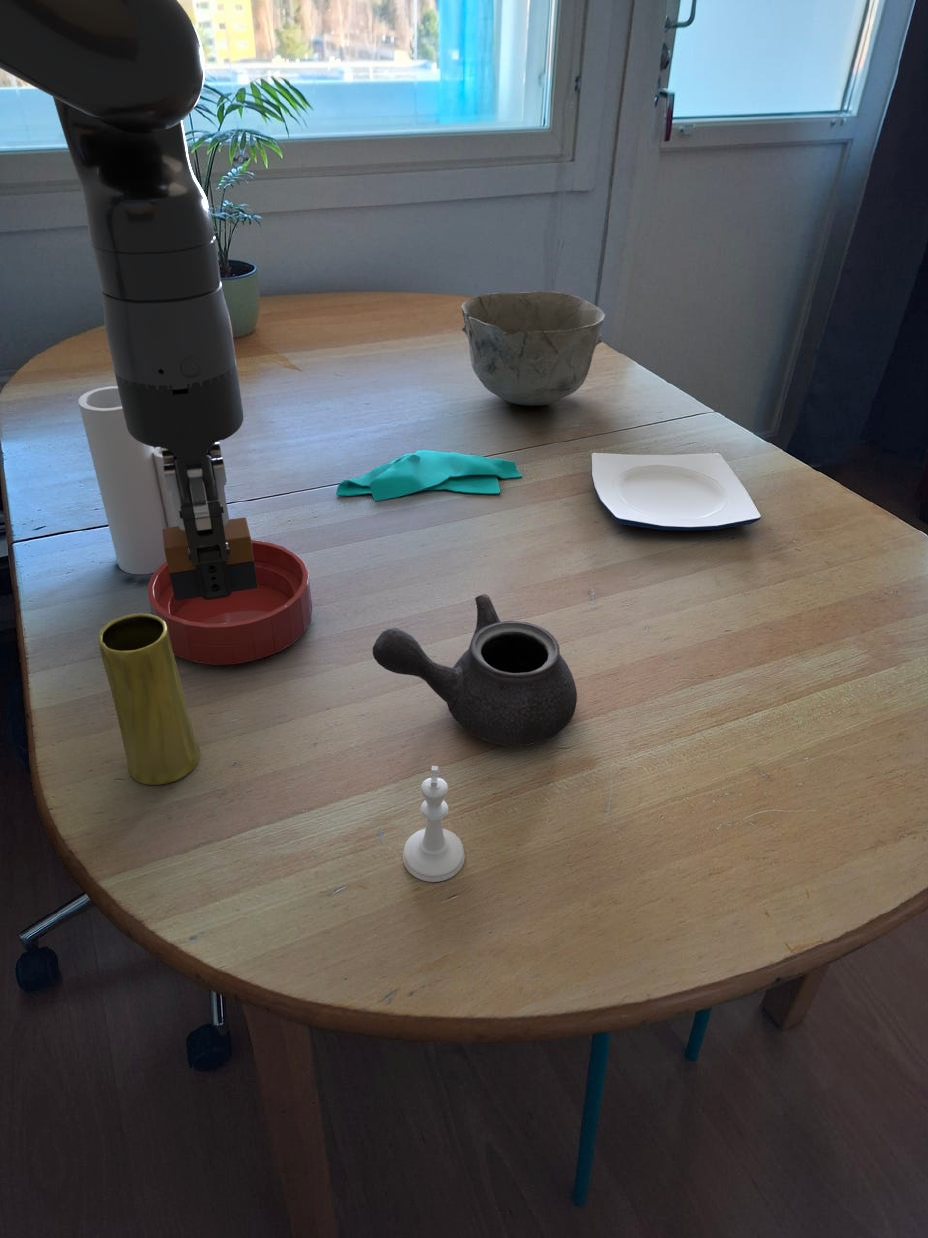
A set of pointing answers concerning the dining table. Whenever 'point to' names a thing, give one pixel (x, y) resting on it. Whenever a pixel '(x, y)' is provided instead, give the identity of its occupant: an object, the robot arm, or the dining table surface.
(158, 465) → the vase
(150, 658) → the vase
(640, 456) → the plate
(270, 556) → the red bowl
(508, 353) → the bowl
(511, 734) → the teapot
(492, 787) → the dining table surface
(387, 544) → the dining table surface
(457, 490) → the cloth
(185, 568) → the eraser
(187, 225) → the robot arm
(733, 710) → the dining table surface
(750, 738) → the dining table surface
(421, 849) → the chess piece
